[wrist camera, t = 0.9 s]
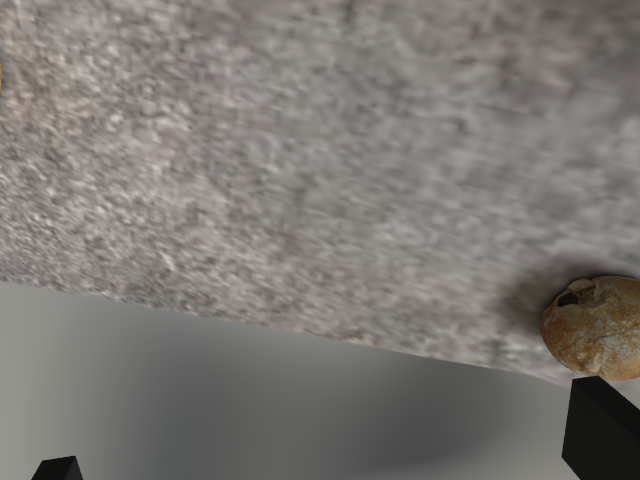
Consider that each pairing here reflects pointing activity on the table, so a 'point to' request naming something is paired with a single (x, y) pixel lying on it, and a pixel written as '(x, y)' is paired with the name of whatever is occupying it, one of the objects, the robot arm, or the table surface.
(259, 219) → the table surface
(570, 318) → the bread roll
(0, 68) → the bowl
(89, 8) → the table surface
